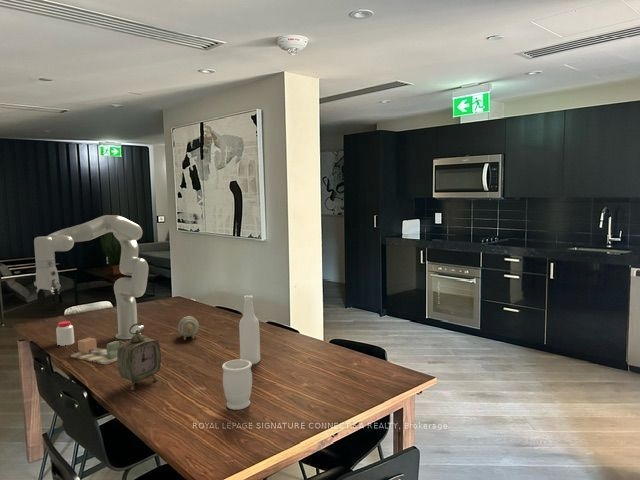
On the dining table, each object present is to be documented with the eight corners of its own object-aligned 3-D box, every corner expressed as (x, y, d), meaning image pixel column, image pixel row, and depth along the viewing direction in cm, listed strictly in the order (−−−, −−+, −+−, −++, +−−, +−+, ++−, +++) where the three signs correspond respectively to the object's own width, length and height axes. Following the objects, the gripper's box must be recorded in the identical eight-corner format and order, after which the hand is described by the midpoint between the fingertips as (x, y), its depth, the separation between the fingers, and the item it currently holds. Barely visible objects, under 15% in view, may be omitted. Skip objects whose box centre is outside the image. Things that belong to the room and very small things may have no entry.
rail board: (70, 356, 219) (69, 340, 218) (93, 349, 229) (92, 333, 229) (105, 364, 208) (104, 347, 207) (127, 356, 219) (126, 339, 218)
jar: (225, 399, 172) (224, 359, 170) (253, 397, 172) (252, 358, 171) (221, 412, 161) (220, 370, 159) (252, 410, 162) (250, 369, 160)
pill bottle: (66, 346, 234) (65, 324, 233) (53, 345, 236) (52, 324, 235) (77, 341, 242) (76, 320, 241) (64, 340, 243) (63, 320, 242)
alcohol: (252, 356, 215) (250, 293, 212) (264, 361, 209) (262, 295, 206) (236, 361, 209) (234, 296, 206) (248, 366, 203) (245, 299, 200)
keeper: (78, 352, 221) (77, 340, 220) (89, 348, 226) (89, 337, 225) (85, 354, 218) (84, 342, 218) (96, 350, 224) (96, 338, 223)
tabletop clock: (131, 393, 178) (127, 329, 175) (116, 388, 182) (112, 326, 180) (162, 380, 190) (158, 320, 187) (147, 375, 195) (144, 317, 192)
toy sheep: (180, 343, 237) (179, 321, 236) (176, 333, 252) (175, 313, 251) (201, 340, 241) (200, 319, 240) (196, 331, 256) (195, 311, 255)
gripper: (66, 264, 208) (68, 301, 209) (41, 261, 215) (44, 298, 217) (49, 266, 201) (52, 305, 203) (25, 264, 209) (28, 301, 211)
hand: (48, 301), depth 210 cm, fingers open, 9 cm apart
